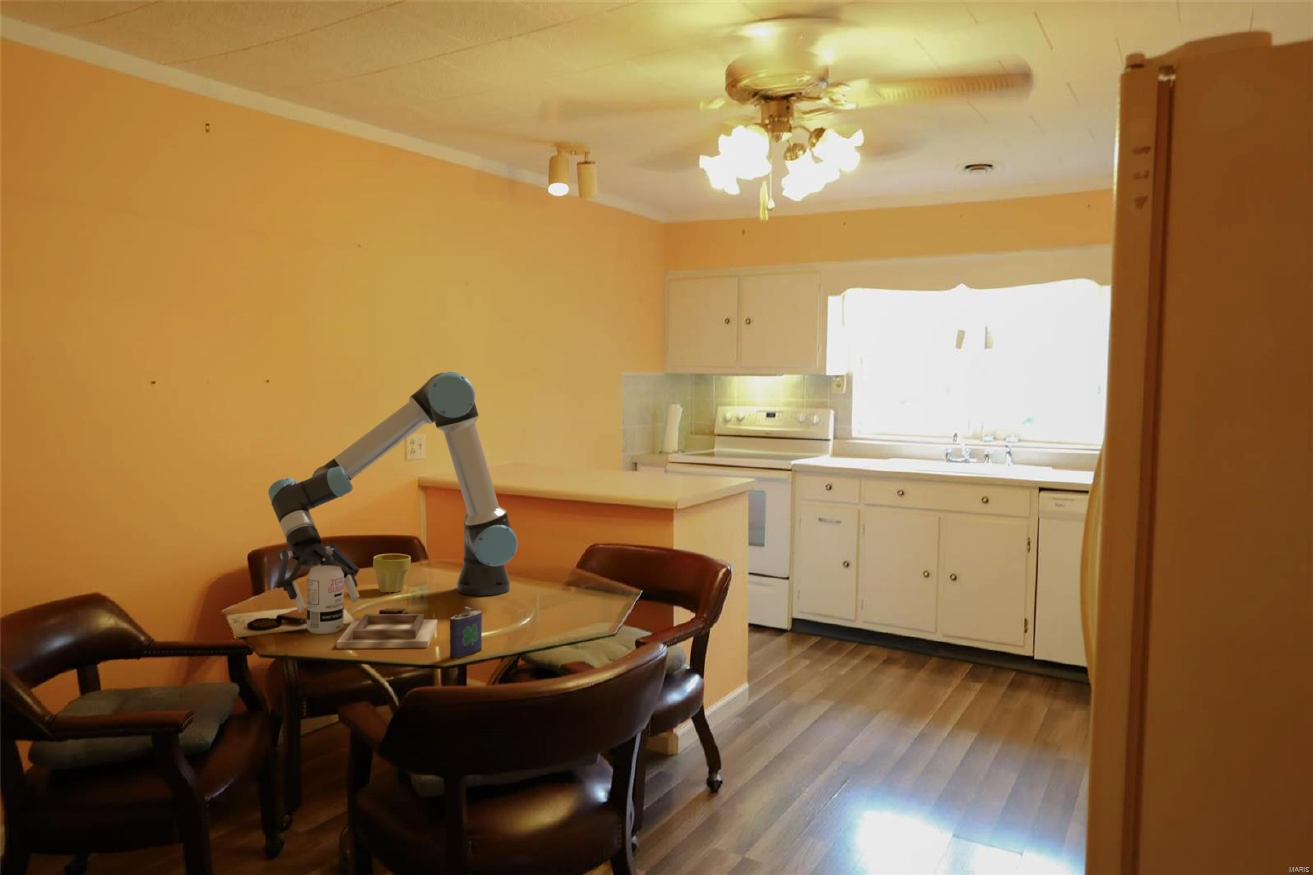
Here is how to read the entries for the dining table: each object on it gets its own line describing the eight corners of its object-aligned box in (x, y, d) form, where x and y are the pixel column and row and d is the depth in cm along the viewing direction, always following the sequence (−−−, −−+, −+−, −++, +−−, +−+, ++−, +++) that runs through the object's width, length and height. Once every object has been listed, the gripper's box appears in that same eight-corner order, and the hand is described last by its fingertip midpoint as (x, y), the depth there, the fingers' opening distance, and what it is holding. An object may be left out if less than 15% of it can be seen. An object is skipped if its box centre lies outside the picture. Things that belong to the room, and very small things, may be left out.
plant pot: (414, 586, 256) (414, 553, 256) (405, 595, 246) (405, 560, 245) (378, 585, 256) (379, 552, 255) (368, 594, 245) (368, 559, 245)
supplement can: (312, 625, 214) (313, 564, 213) (347, 625, 214) (347, 565, 213) (302, 634, 206) (302, 572, 205) (338, 635, 206) (338, 572, 205)
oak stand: (437, 625, 216) (437, 611, 216) (427, 647, 199) (428, 632, 198) (353, 626, 214) (353, 612, 214) (336, 648, 196) (336, 633, 196)
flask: (476, 647, 200) (476, 601, 199) (485, 650, 198) (486, 603, 197) (446, 658, 192) (447, 610, 191) (456, 660, 190) (457, 612, 189)
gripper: (342, 536, 228) (371, 604, 219) (245, 548, 210) (272, 622, 201) (352, 519, 224) (383, 587, 215) (254, 529, 206) (283, 604, 197)
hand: (330, 604), depth 208 cm, fingers open, 13 cm apart
